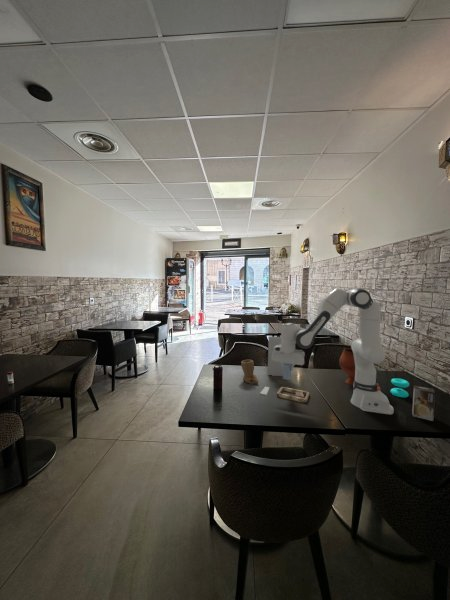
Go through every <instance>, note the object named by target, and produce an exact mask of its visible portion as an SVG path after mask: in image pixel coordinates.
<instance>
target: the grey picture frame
mask: <svg viewBox="0 0 450 600" xmlns="http://www.w3.org/2000/svg"><path fill="white" fill-rule="evenodd" d="M412 393H413V394H412V410H411V411H412V412H411V413H412V417H414V418H418V419H423V420H427V421H431V422H434V418H435V417H434V416H435V415H434V414H435V403H436V392H435V389H434V388H430V387H425V386H419V385H413V392H412Z"/></svg>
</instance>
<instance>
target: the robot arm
mask: <svg viewBox="0 0 450 600" xmlns="http://www.w3.org/2000/svg"><path fill="white" fill-rule="evenodd" d="M345 305H348V306H351V307H354V308H358V310H359V318H358V333H359V335H360V338H356V339H355V340H353V341H352V342H351V345H350V348H352V351H353V354H354V360H355V379H354V385H352V386H353V387H352V388H353V392H352V396H351V399H350V403H351V405H353V406H355V407H357V408H358V409H360V410H362V411H364V412H369V413H376V414H383V415H384V414H385V415H390V416H391V415H393V414H394V413H395V412H394V411H395V410H394V407H393V406H392V405H391V404H390V401H389V399H388V396H387V395H386V394H384V393H383V392H382V391H381V387H380V385H379V383H377V382H376V379H377V369H376V367H375V364H377V365H378V364H381V363H383V362H384V360H385V358H386V352H385V350H384V349H383V346H382V341H381V340H382V339H381V333H380V330H381V316H382V314H381V305H380V303H379V302H378V301H376V300H374V299H373V298H372V296H371V294H370V292H369V291H368V290H366V289H364V288H360V287H359V288H358V287H356V288H349V289H346V290H344V289H342V288H339V287H337V288H334V289H333V290H332V291H330V292H329V293H328V294H327V295H326V296H325V297H324V298H323V299H322V300H321V302H320V303H319V305H318V306H317V312H316V316H315V319H314V320H313V321H312V322H311V323H310V325H309V326H308V327H307V328H303V327H301V326H298V325H297V324H295V323H294V322H287V323H284V324H283V325H282V326H281V331H280V332H281V333H280V337H281V338H282V341H281V345H276V346H275V347H274V351H273V353H272V361H276V362H281V365H282V369H283V367H284V365H283V363H290V364H291V367H290V370H291V372H293V370H294V366H295V365H297V366H303V365H305V355H306V353H305V351H304V349H305V350H306V349H310V348H311V347H312V346H313V345H314V343H315V339H316V337H317V336H318V334H319V333H320V332H321V331H322V329H323V328H324V327H325V326H326V324H327V323H328V322H330V321H331V319H332V318H333V317H334V316H335V315H337V313H338V312H339V311H340V310H341V309H342V308H343V306H345ZM296 345H297V346H298V348H301V349H296Z"/></svg>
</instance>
